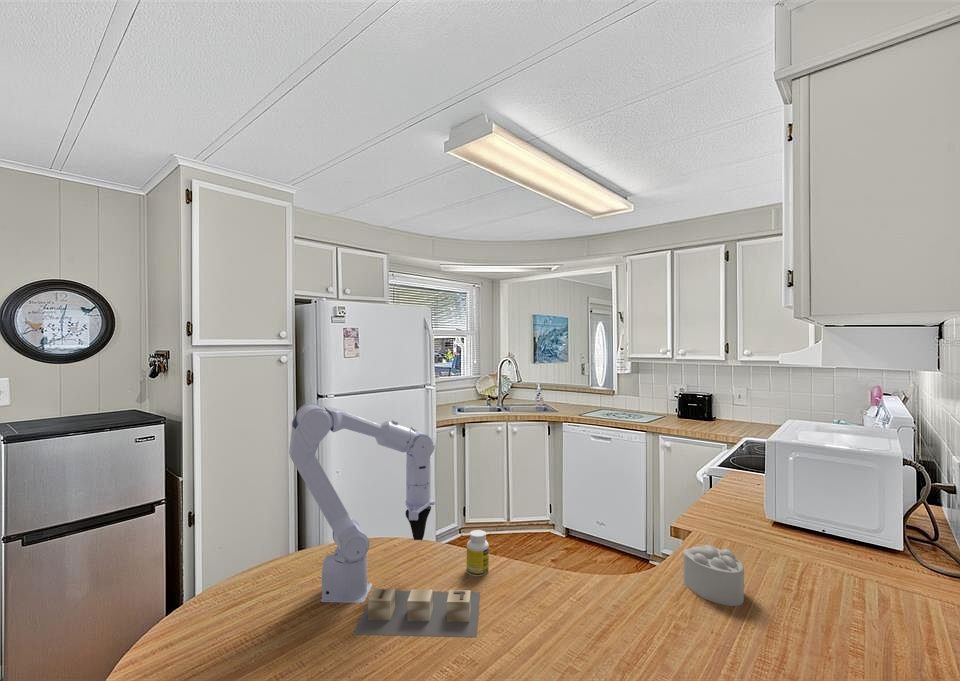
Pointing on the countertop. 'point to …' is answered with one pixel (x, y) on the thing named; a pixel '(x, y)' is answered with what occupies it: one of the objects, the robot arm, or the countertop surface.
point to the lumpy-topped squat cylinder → (714, 574)
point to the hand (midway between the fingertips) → (418, 538)
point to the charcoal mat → (421, 628)
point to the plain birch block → (420, 605)
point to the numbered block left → (381, 604)
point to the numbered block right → (459, 606)
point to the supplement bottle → (477, 553)
